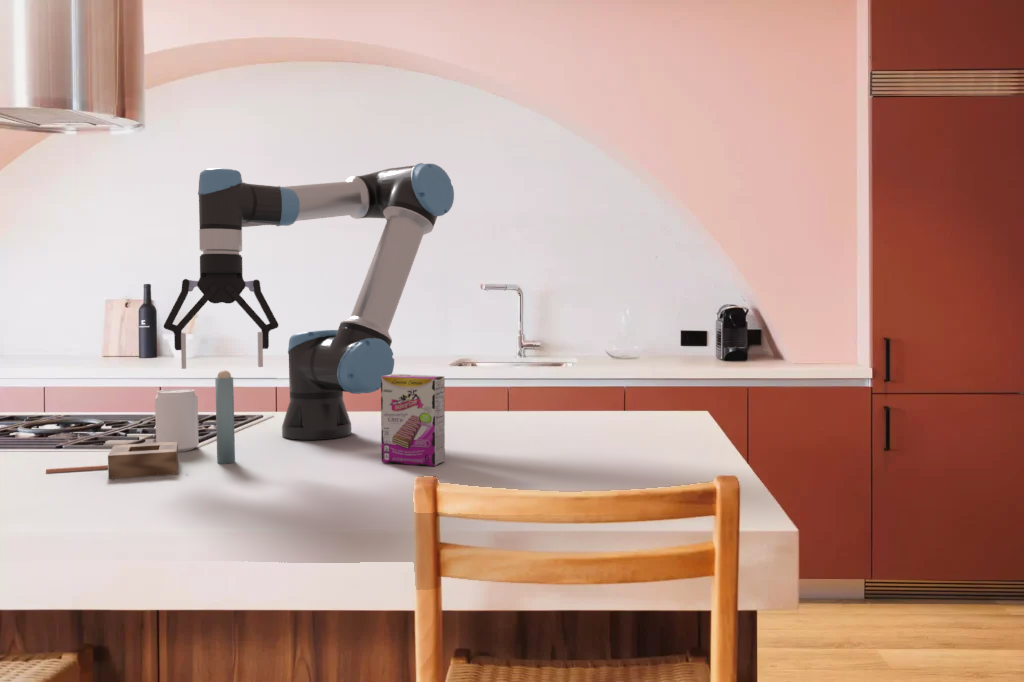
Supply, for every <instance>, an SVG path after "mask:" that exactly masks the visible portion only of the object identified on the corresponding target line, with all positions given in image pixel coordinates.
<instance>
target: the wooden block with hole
mask: <svg viewBox="0 0 1024 682" xmlns="http://www.w3.org/2000/svg"><path fill="white" fill-rule="evenodd" d="M107 465H108V469H107V470H108V475H107V476H108V479H109V480H110V479H125V478H138V477H139V478H140V477H142V478H143V477H155V476H168V475H177V474H178V468H179V452H178V442H163V443H156V442H148V443H131V444H129V443H128V444H114V445H113V446H112V447H111V450H110V451H109V453H108V454H107Z"/></svg>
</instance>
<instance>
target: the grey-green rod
mask: <svg viewBox="0 0 1024 682" xmlns="http://www.w3.org/2000/svg"><path fill="white" fill-rule="evenodd" d="M214 379H215V380H214V381H215V382H214V383H215V385H214V386H215V420H216V421H215V422H216V425H215V426H216V463H217V464H220V465H221V464H222V465H225V464H226V465H227V463H229V464H233V462H234V463H236V445H235V443H236V442H235V441H236V440H235V435H236V434H235V400H234V399H235V397H234V377H233V376H232V374H231V373H230V371H229V370H226V369H223V370H220V371H219V372H218V374H217V376H216V377H215V378H214Z"/></svg>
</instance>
